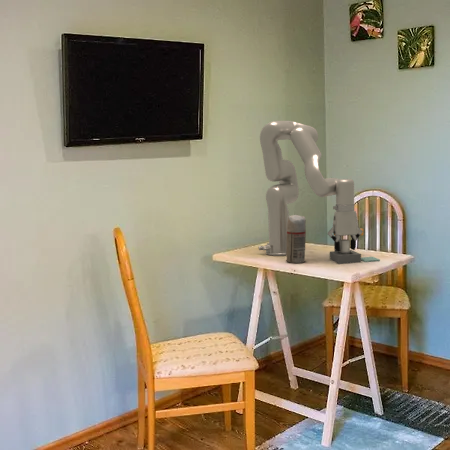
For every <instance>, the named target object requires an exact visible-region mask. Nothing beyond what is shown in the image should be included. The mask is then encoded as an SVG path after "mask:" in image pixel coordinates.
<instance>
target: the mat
mask: <svg viewBox="0 0 450 450" xmlns="http://www.w3.org/2000/svg"><path fill="white" fill-rule="evenodd" d="M380 261H381V259H379V258H377V257H375V256H365V257H364V256H363V257H362V256H361V262H363V263H372V262H380Z"/></svg>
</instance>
